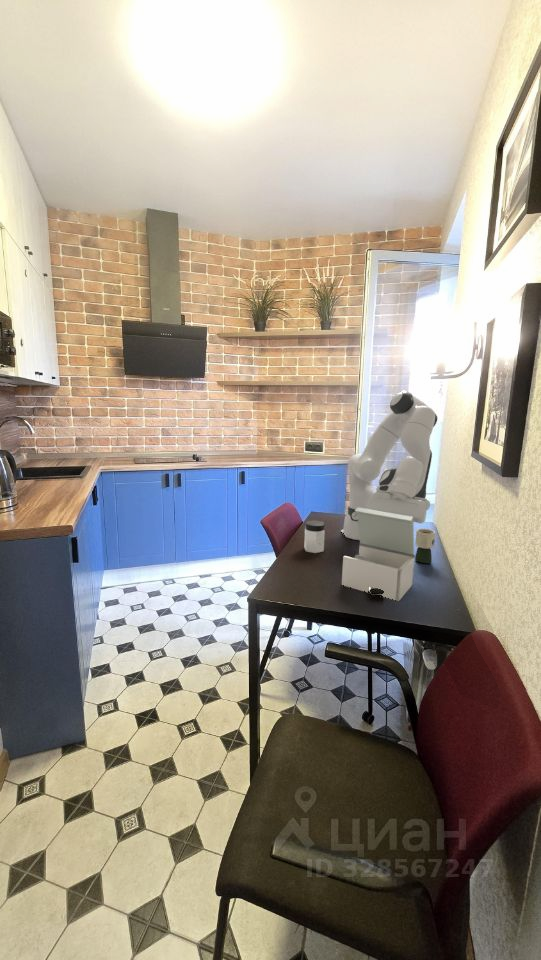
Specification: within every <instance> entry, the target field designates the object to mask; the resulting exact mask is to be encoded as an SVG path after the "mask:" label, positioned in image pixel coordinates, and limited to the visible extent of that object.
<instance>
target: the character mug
mask: <svg viewBox="0 0 541 960" xmlns="http://www.w3.org/2000/svg"><path fill="white" fill-rule="evenodd" d="M435 539H436V531H435V530H433V529H429V528H418V529H416V532H415V541H414V546H416V547H417V548H416V551H415V552H416V553H415V560H414V561H416V562H419V563H422V564H432V561H433V559H432V548H435V547H434V546H435V541H436V540H435Z"/></svg>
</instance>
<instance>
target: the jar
mask: <svg viewBox="0 0 541 960" xmlns="http://www.w3.org/2000/svg"><path fill="white" fill-rule="evenodd" d="M304 526H305V527H304V543H303V544H304V547H303V548H304V550H305V552H307V553H312V554H317V553H321V552H323V553H324V550H325V535H326V534H325V532H326V531H325V522H324V521H322V520H321V521H320V520H314V519H313V520H308V521H306V522H305V525H304Z"/></svg>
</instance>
